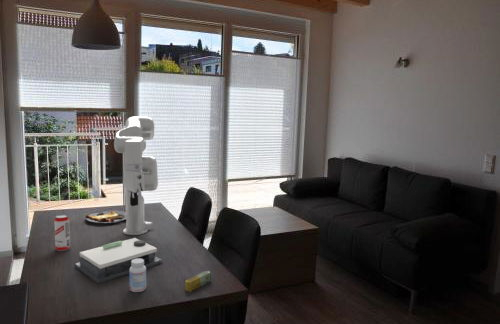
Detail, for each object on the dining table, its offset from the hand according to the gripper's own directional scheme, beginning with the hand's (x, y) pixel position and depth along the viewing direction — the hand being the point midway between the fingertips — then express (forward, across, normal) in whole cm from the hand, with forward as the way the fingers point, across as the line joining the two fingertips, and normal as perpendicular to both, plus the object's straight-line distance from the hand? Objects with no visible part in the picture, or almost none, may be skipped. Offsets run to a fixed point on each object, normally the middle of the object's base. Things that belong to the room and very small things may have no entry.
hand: (134, 205), depth 189 cm
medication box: (+19, -51, +3) cm, 54 cm away
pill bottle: (+19, -38, +21) cm, 47 cm away
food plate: (+25, +51, -13) cm, 59 cm away
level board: (+15, -12, +15) cm, 25 cm away
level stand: (+20, -12, +15) cm, 28 cm away
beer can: (+22, +22, +25) cm, 40 cm away
